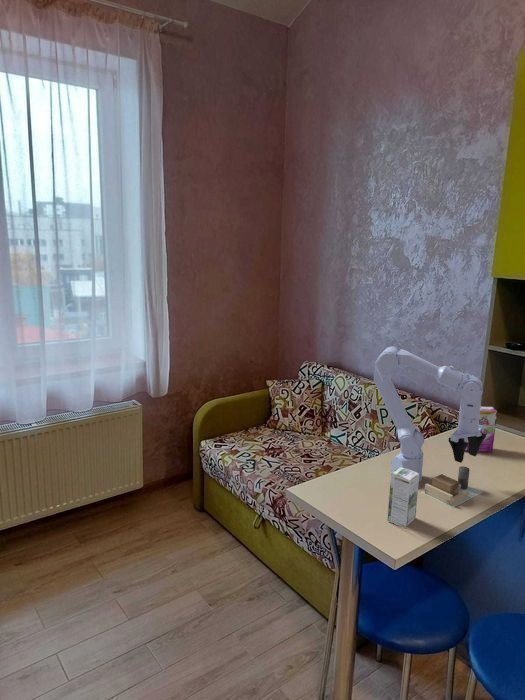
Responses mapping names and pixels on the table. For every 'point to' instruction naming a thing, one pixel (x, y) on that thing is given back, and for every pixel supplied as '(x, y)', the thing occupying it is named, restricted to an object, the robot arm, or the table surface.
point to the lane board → (448, 498)
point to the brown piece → (452, 481)
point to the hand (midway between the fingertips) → (465, 458)
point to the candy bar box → (486, 428)
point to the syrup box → (403, 497)
